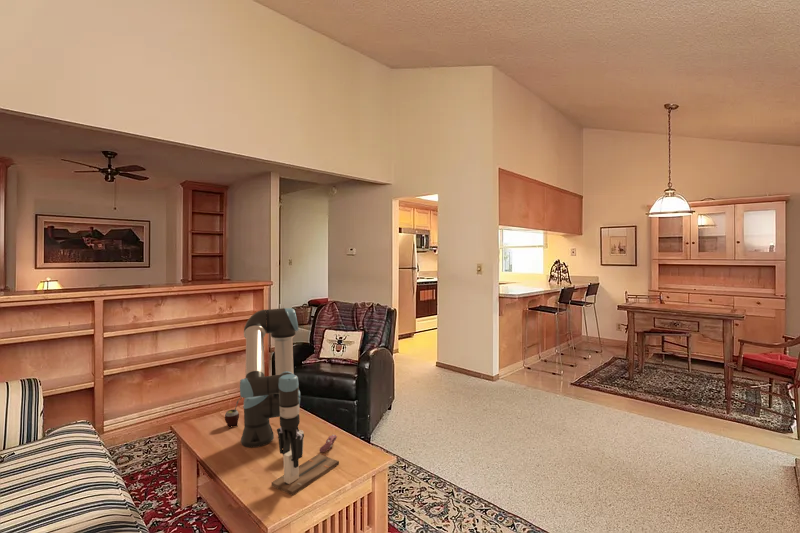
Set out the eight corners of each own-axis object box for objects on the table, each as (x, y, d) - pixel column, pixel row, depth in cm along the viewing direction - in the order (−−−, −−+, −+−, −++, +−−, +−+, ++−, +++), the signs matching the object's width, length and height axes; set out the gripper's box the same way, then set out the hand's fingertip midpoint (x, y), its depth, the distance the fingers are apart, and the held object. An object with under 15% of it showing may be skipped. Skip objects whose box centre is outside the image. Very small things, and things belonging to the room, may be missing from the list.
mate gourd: (222, 428, 213) (221, 400, 212) (231, 422, 221) (230, 395, 220) (234, 429, 211) (233, 401, 211) (243, 423, 219) (242, 395, 219)
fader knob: (284, 481, 159) (283, 454, 158) (294, 475, 163) (293, 449, 162) (289, 484, 157) (288, 456, 156) (299, 478, 161) (298, 451, 161)
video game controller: (326, 457, 184) (332, 444, 183) (318, 451, 184) (324, 439, 184) (334, 446, 193) (340, 434, 193) (325, 441, 194) (331, 429, 193)
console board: (271, 486, 159) (271, 482, 159) (319, 457, 181) (318, 453, 181) (292, 495, 152) (292, 491, 152) (339, 464, 174) (338, 460, 174)
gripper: (268, 414, 160) (270, 471, 161) (296, 422, 151) (298, 484, 152) (283, 407, 166) (285, 463, 167) (311, 415, 157) (312, 474, 158)
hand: (291, 473), depth 160 cm, fingers closed on fader knob, 3 cm apart
